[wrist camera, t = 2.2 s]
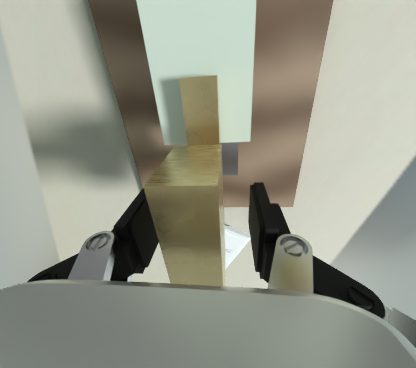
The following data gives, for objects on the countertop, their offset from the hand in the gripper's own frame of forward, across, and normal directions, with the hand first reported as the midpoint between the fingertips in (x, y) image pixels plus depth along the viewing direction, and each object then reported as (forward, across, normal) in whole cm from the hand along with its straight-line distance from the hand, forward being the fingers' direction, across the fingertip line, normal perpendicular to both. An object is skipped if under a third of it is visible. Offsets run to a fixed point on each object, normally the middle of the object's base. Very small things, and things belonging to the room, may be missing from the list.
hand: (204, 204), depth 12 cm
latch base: (+10, 0, -4) cm, 11 cm away
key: (+8, 0, -1) cm, 9 cm away
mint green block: (+6, 0, -8) cm, 10 cm away
